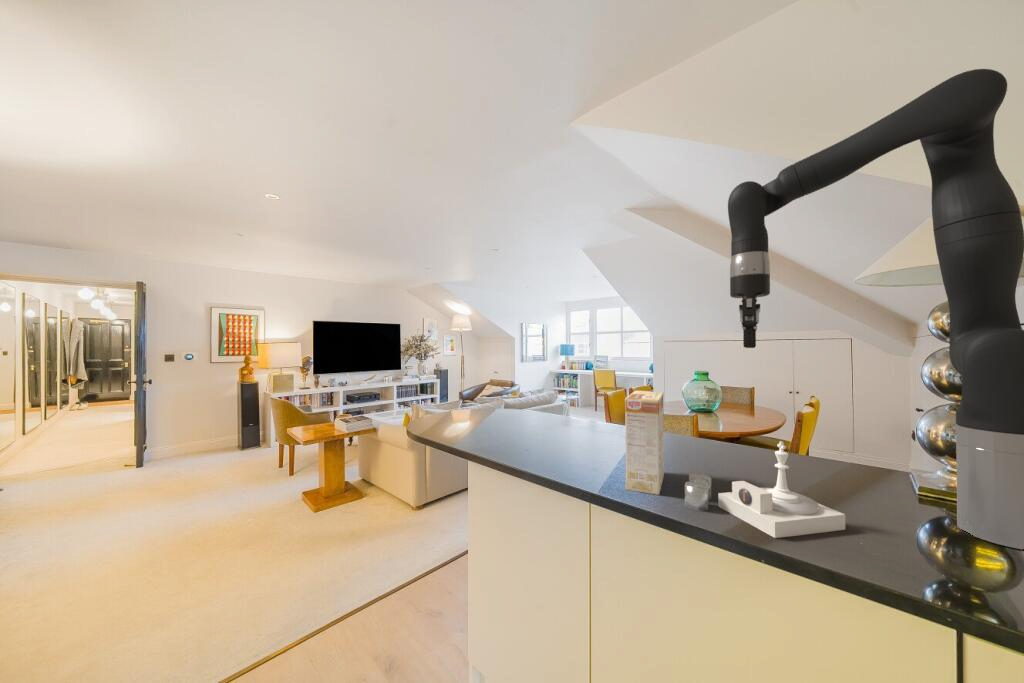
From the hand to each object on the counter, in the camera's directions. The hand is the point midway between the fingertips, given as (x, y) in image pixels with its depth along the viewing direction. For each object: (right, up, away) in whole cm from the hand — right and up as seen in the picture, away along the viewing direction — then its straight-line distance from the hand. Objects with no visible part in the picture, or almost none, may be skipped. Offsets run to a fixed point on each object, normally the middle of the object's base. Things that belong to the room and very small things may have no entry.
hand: (749, 347), depth 84 cm
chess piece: (-5, -27, -17) cm, 32 cm away
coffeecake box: (-23, -30, +1) cm, 38 cm away
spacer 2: (-18, -30, -12) cm, 37 cm away
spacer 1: (-15, -30, -8) cm, 34 cm away
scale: (-6, -30, -17) cm, 35 cm away
